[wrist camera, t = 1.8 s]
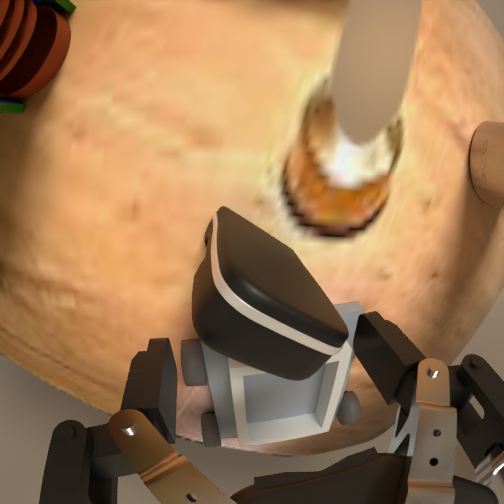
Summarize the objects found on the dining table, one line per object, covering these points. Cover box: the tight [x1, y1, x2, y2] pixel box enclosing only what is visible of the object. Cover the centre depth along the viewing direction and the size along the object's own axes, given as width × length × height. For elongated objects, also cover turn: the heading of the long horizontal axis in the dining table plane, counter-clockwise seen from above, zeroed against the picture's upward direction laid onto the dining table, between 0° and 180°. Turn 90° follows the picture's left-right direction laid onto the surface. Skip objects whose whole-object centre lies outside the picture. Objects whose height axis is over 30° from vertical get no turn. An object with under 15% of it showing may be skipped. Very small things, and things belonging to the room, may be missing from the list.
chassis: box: [181, 301, 364, 447], centre depth 25 cm, size 17×17×4 cm
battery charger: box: [192, 206, 349, 381], centre depth 16 cm, size 7×4×11 cm, turn 55°
